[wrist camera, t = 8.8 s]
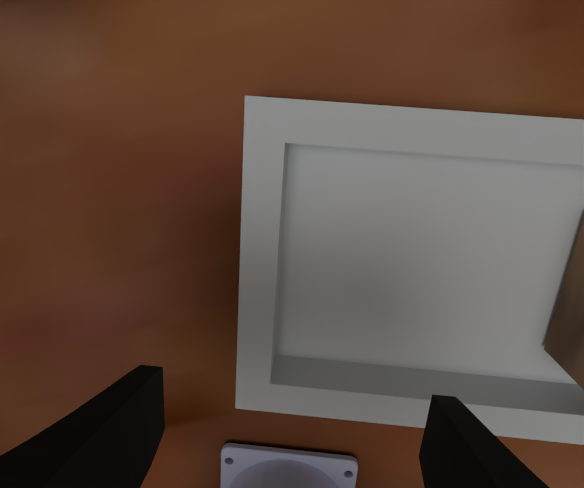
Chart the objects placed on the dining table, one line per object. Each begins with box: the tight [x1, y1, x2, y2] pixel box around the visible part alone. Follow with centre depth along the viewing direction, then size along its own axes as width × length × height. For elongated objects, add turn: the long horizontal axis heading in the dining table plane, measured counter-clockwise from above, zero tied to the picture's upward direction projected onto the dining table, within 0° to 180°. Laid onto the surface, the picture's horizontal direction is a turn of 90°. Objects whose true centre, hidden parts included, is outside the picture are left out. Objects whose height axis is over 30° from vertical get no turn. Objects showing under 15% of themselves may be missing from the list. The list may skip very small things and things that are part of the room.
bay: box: [235, 96, 584, 445], centre depth 18 cm, size 14×25×3 cm, turn 86°
